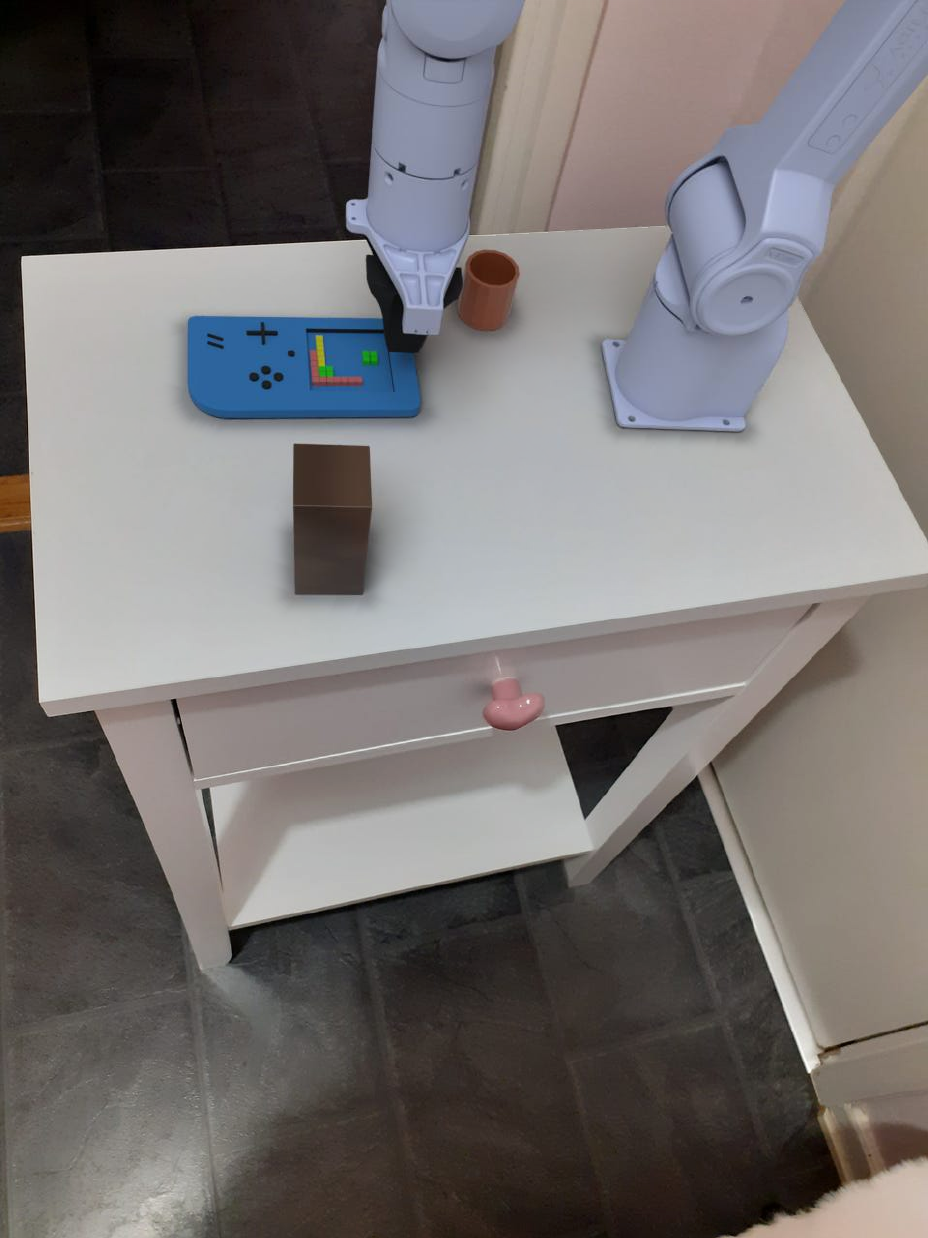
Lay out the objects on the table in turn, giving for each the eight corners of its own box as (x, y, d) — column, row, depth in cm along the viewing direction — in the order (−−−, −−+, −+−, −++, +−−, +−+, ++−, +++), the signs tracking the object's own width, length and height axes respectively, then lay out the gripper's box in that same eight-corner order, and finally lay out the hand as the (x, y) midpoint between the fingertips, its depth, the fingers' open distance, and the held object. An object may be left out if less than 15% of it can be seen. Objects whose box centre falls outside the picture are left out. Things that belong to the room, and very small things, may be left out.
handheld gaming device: (187, 311, 62) (408, 314, 65) (188, 324, 63) (407, 326, 66) (186, 407, 58) (422, 405, 61) (188, 418, 59) (420, 417, 62)
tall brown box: (361, 538, 57) (369, 445, 49) (362, 595, 55) (372, 507, 47) (294, 537, 56) (293, 442, 48) (294, 594, 54) (292, 505, 46)
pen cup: (505, 295, 69) (516, 251, 66) (511, 332, 67) (522, 289, 64) (455, 292, 68) (463, 247, 65) (459, 329, 67) (468, 286, 63)
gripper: (346, 54, 51) (338, 254, 63) (353, 233, 45) (342, 419, 56) (471, 67, 53) (440, 261, 64) (496, 243, 46) (456, 424, 57)
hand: (402, 336), depth 60 cm, fingers closed
